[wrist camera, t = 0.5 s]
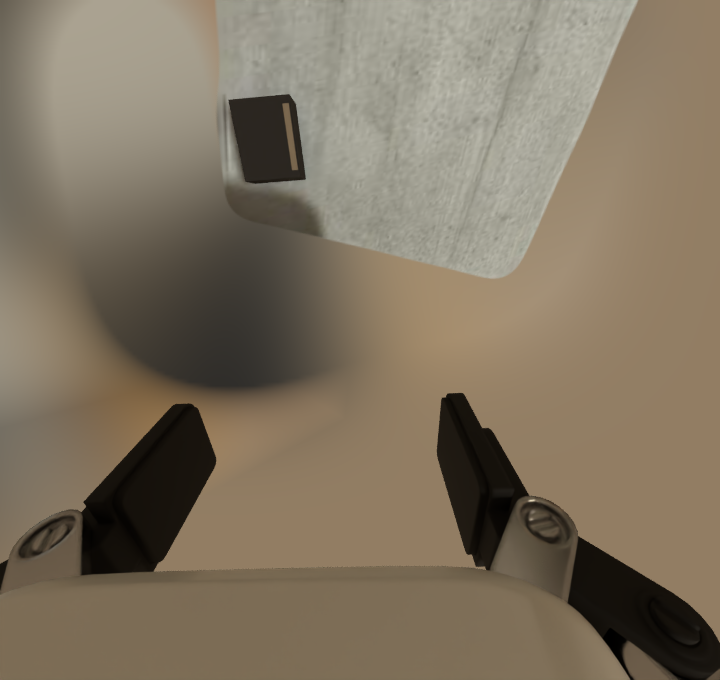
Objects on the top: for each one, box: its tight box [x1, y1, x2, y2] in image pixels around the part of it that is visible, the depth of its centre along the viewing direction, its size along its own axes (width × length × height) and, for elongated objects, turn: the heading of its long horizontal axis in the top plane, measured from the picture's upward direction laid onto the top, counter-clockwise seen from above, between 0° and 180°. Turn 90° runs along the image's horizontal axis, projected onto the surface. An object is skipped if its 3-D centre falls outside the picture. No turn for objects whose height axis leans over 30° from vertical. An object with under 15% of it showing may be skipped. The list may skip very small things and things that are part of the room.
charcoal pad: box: [229, 94, 306, 184], centre depth 31 cm, size 7×6×3 cm
